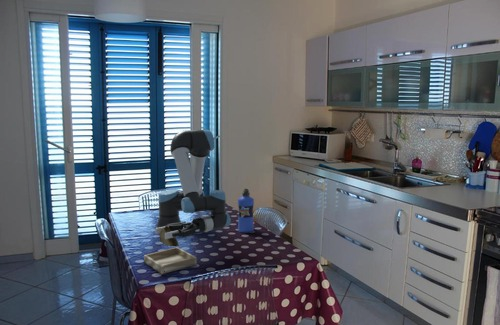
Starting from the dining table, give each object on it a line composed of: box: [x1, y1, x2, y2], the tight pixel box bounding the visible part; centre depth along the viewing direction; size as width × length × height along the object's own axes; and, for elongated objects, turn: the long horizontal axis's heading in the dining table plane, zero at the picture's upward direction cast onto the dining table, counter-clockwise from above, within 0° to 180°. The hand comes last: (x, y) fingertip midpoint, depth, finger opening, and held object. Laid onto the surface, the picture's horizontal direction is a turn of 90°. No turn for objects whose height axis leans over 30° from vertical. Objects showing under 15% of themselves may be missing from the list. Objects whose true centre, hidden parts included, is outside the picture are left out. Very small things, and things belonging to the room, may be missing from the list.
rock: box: [158, 225, 180, 248], centre depth 197 cm, size 11×9×10 cm
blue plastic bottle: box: [237, 188, 255, 234], centre depth 248 cm, size 9×9×25 cm
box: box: [143, 246, 198, 275], centre depth 199 cm, size 18×18×4 cm
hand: (160, 233), depth 193 cm, fingers closed on rock, 8 cm apart
